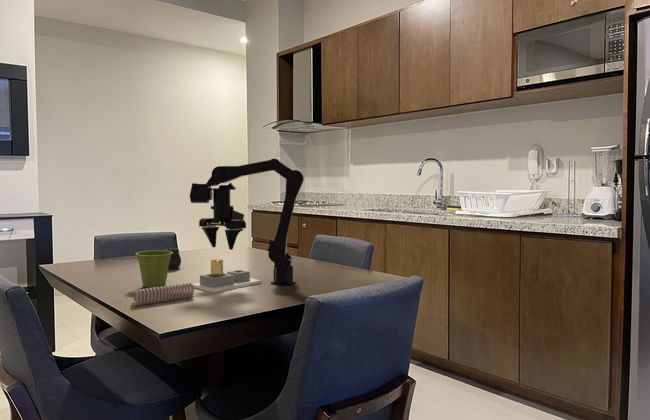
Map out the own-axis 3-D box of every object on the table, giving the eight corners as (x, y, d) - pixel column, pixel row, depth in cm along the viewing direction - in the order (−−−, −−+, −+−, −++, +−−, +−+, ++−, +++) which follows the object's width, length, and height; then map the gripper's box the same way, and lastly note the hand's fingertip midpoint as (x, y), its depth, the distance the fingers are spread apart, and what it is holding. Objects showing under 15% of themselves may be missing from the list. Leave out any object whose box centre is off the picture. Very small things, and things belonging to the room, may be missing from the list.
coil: (190, 281, 150) (129, 289, 139) (196, 282, 147) (134, 290, 136) (190, 297, 150) (130, 305, 139) (197, 298, 146) (135, 307, 135)
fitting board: (261, 283, 169) (260, 271, 169) (212, 292, 154) (212, 280, 154) (239, 278, 177) (239, 267, 177) (191, 287, 162) (191, 275, 162)
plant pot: (134, 290, 157) (133, 255, 156) (137, 283, 168) (137, 250, 168) (172, 288, 160) (172, 254, 159) (173, 281, 171) (173, 249, 171)
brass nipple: (225, 284, 163) (225, 260, 162) (215, 285, 160) (215, 261, 159) (218, 282, 165) (218, 258, 165) (208, 284, 162) (208, 260, 162)
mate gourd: (183, 267, 202) (183, 242, 201) (178, 270, 194) (178, 245, 194) (165, 267, 201) (165, 242, 201) (160, 270, 194) (159, 245, 193)
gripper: (257, 203, 167) (258, 248, 168) (223, 201, 179) (223, 244, 180) (232, 204, 159) (233, 251, 160) (197, 202, 171) (198, 247, 171)
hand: (222, 248), depth 168 cm, fingers open, 9 cm apart
